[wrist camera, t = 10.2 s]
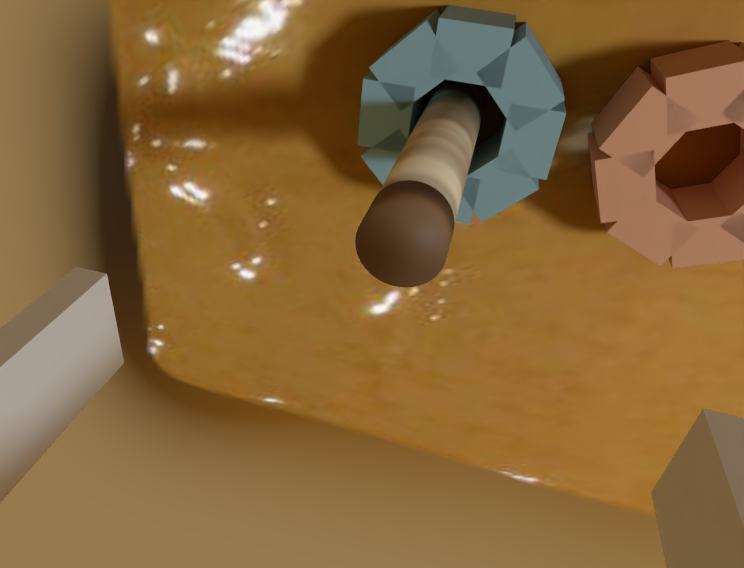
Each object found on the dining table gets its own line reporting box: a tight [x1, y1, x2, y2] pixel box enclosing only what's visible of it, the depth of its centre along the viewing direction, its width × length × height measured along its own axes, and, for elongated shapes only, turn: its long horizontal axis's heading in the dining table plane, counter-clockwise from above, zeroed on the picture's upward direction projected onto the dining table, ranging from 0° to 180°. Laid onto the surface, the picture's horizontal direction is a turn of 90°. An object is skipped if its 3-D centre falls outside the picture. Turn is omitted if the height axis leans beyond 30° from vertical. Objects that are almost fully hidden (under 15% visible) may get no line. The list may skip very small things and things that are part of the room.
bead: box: [357, 5, 566, 224], centre depth 30 cm, size 10×10×4 cm
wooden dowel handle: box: [356, 80, 484, 287], centre depth 25 cm, size 3×3×16 cm
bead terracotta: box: [588, 40, 744, 268], centre depth 29 cm, size 10×10×4 cm
